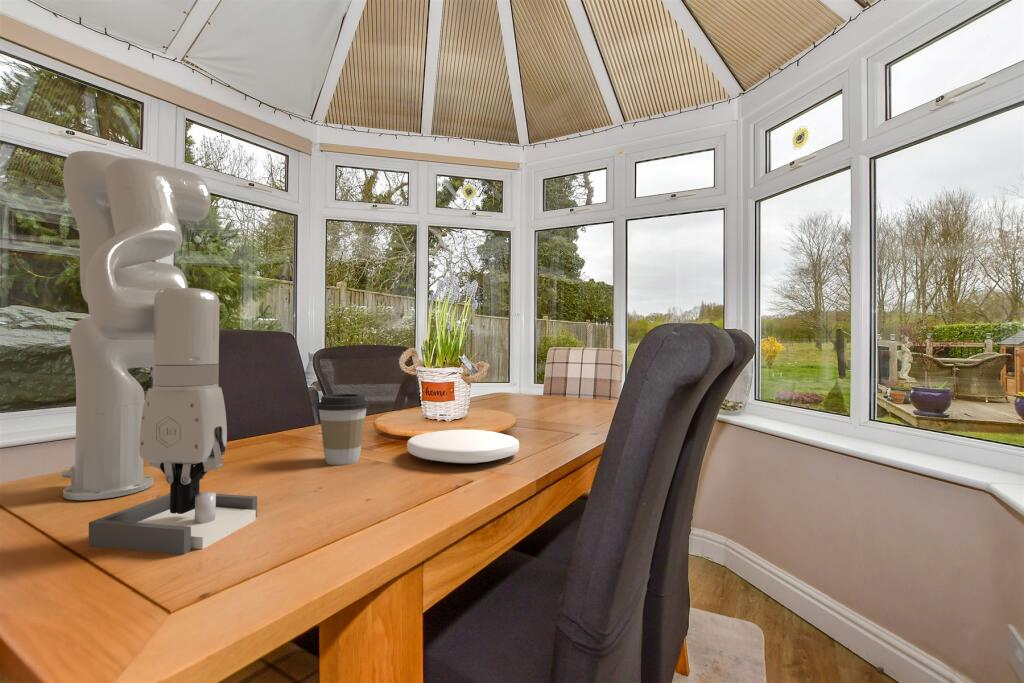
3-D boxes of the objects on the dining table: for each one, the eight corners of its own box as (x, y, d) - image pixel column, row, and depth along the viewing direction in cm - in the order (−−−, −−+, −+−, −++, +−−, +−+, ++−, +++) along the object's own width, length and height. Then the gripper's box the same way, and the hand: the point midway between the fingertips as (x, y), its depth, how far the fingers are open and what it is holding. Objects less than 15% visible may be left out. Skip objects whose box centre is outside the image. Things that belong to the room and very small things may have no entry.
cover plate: (119, 540, 62) (120, 502, 62) (182, 513, 72) (183, 480, 72) (202, 549, 61) (203, 509, 61) (255, 520, 70) (256, 486, 70)
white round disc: (433, 425, 132) (528, 430, 127) (431, 449, 132) (527, 455, 126) (387, 432, 105) (506, 439, 100) (385, 462, 105) (504, 471, 99)
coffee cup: (373, 455, 116) (374, 393, 116) (360, 467, 105) (361, 398, 105) (325, 455, 115) (326, 393, 115) (307, 467, 104) (308, 398, 104)
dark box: (88, 553, 61) (88, 522, 61) (176, 516, 74) (176, 491, 74) (183, 562, 59) (184, 529, 59) (256, 523, 72) (257, 496, 72)
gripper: (114, 378, 64) (112, 516, 64) (213, 381, 61) (211, 524, 61) (163, 374, 71) (162, 498, 71) (254, 377, 69) (252, 505, 69)
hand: (184, 510), depth 66 cm, fingers closed
